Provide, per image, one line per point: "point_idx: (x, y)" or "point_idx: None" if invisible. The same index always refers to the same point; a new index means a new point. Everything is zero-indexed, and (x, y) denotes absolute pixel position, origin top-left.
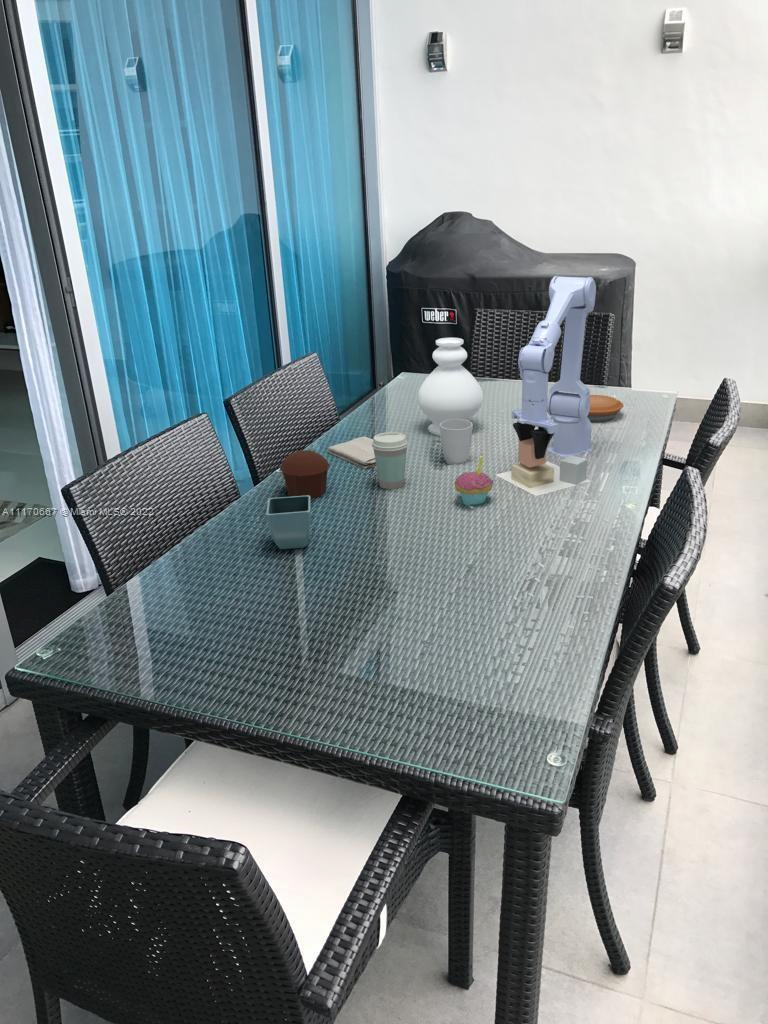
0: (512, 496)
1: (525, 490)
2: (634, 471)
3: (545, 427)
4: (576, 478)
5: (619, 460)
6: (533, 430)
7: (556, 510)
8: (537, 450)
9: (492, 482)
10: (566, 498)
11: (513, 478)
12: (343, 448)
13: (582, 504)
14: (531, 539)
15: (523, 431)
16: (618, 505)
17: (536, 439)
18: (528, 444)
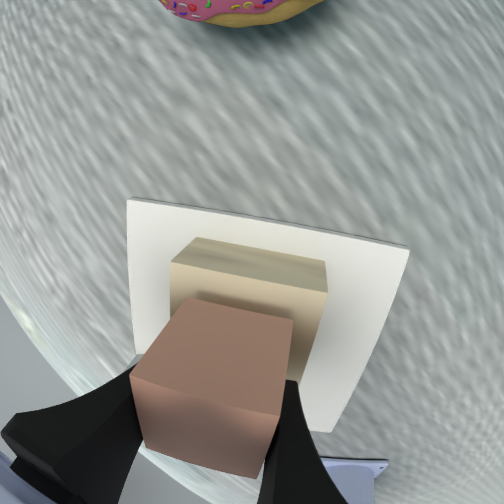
0: (200, 140)
1: (190, 209)
2: (159, 455)
3: (22, 487)
4: (129, 366)
5: (221, 480)
6: (54, 475)
7: (48, 180)
8: (119, 376)
9: (163, 2)
10: (91, 268)
11: (309, 260)
12: None
13: (51, 264)
14: (7, 34)
15: (265, 501)
16: (30, 310)
17: (55, 412)
18: (181, 407)
